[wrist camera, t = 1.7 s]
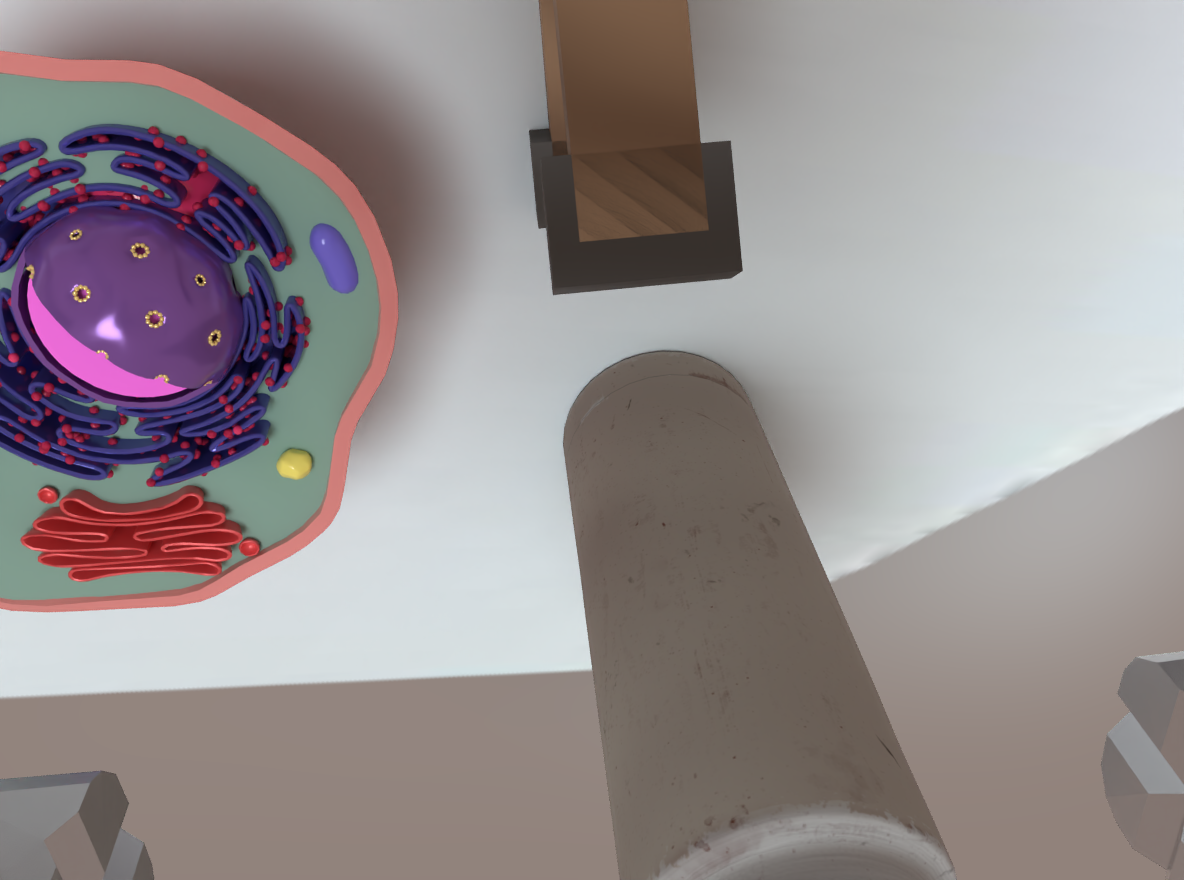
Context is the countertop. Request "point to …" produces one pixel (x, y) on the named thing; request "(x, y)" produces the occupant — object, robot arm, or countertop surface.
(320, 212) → the cell model
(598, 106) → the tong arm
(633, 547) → the thermos bottle
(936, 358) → the countertop surface
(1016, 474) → the countertop surface
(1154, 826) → the robot arm
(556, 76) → the arm
